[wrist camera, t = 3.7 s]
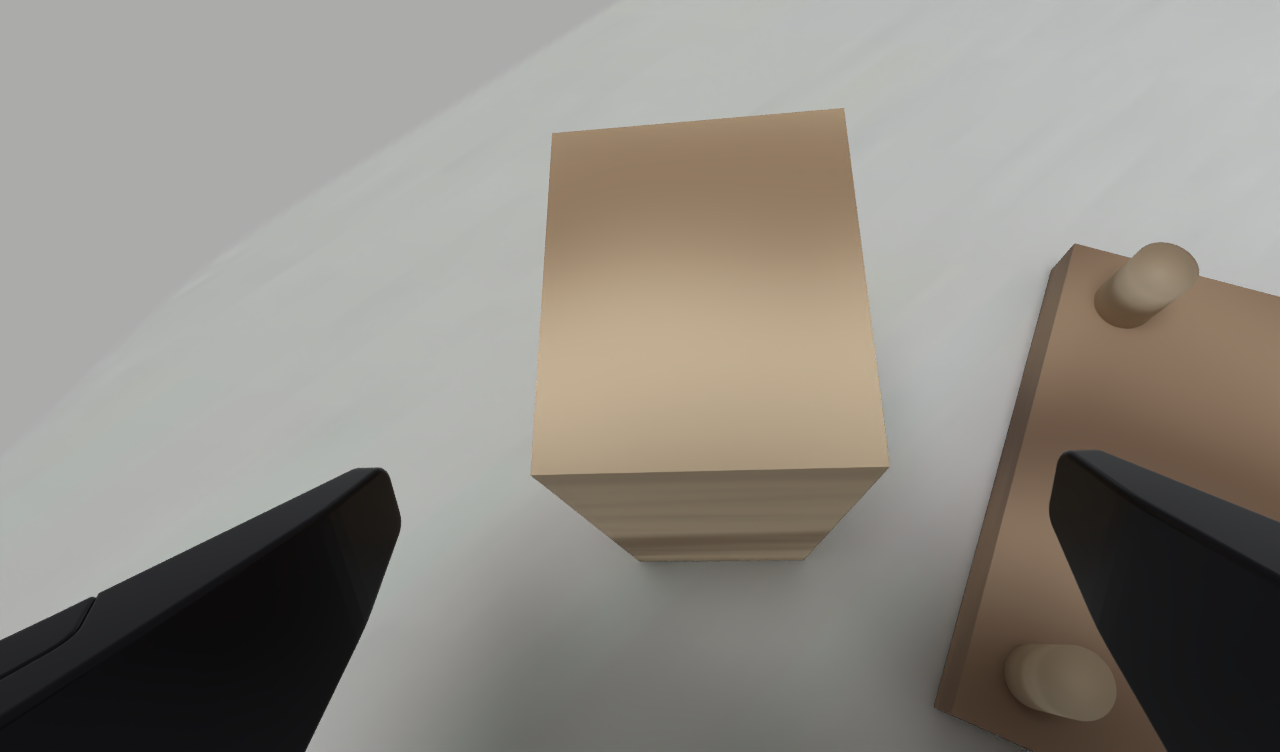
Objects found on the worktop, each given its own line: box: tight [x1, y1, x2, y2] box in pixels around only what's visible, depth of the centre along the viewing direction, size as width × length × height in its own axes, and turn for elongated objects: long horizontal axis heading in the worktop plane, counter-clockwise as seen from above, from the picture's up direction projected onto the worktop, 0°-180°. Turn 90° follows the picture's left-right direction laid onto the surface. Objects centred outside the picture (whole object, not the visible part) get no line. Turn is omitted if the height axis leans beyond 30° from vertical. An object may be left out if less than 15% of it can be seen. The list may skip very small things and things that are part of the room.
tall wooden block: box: [531, 108, 890, 561], centre depth 15 cm, size 6×4×11 cm
